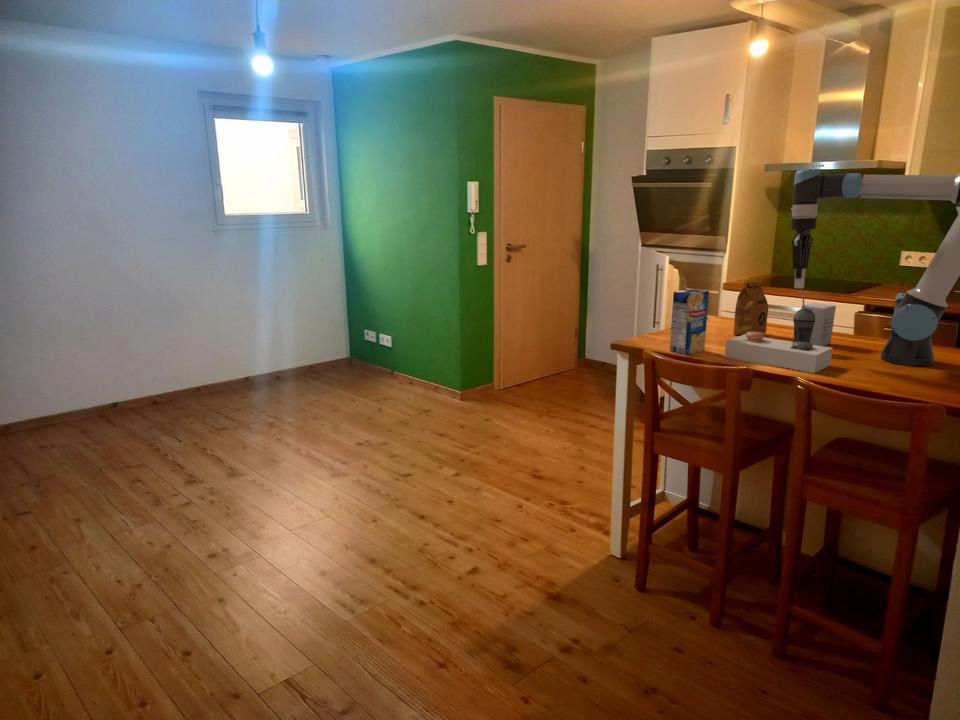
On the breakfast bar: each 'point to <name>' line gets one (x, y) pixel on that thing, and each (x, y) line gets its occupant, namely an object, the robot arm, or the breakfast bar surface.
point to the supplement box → (821, 323)
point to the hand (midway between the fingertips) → (799, 287)
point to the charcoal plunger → (802, 345)
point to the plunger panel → (779, 354)
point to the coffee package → (751, 309)
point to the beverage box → (689, 321)
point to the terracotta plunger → (755, 336)
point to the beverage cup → (803, 324)
